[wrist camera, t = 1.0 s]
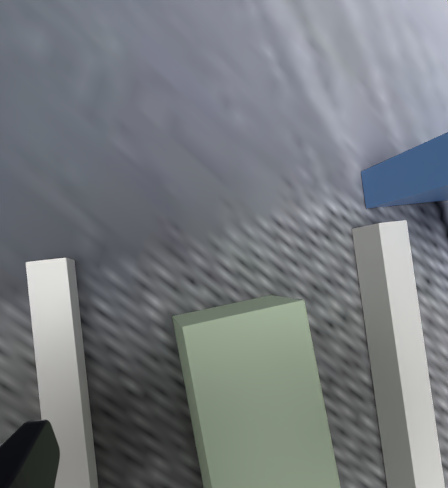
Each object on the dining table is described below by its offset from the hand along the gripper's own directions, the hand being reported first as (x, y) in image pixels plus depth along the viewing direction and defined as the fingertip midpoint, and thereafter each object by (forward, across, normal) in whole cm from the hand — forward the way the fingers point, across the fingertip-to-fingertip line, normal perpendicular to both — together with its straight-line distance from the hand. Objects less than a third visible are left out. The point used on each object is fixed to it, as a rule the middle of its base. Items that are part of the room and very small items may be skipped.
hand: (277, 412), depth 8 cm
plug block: (+9, 0, +10) cm, 13 cm away
